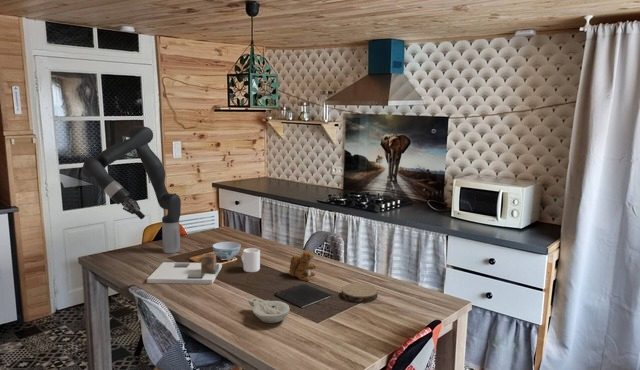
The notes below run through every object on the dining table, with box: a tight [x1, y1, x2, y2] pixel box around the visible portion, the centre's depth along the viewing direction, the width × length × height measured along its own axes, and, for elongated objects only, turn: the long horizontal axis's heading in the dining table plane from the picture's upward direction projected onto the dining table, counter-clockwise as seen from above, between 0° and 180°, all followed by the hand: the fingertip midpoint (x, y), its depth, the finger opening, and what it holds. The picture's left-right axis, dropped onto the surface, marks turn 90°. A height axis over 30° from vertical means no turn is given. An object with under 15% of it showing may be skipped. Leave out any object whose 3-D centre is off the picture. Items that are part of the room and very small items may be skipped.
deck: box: [146, 261, 223, 285], centre depth 234 cm, size 30×25×4 cm
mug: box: [240, 247, 261, 273], centre depth 244 cm, size 12×8×10 cm
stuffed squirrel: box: [288, 250, 317, 282], centre depth 234 cm, size 10×14×13 cm
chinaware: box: [212, 241, 242, 261], centre depth 259 cm, size 15×15×8 cm
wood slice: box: [341, 282, 379, 304], centre depth 212 cm, size 16×16×3 cm
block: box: [200, 253, 217, 273], centre depth 233 cm, size 6×6×8 cm
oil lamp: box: [248, 297, 290, 324], centre depth 187 cm, size 21×14×5 cm
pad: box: [201, 269, 220, 279], centre depth 234 cm, size 7×9×2 cm
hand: (143, 217), depth 230 cm, fingers closed
